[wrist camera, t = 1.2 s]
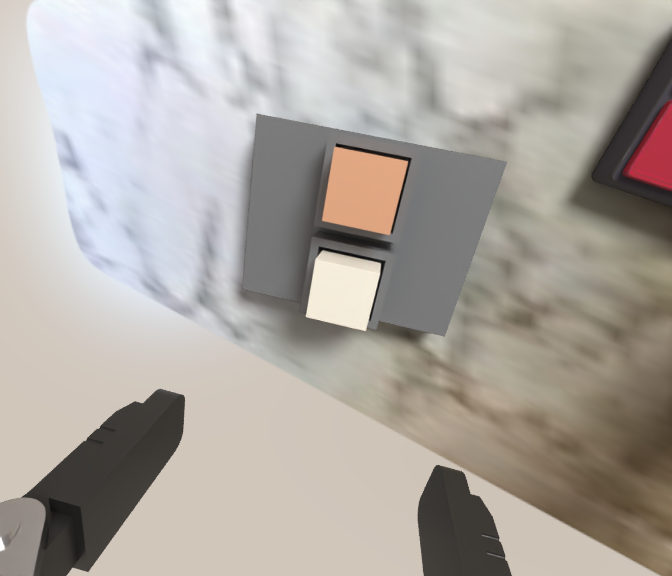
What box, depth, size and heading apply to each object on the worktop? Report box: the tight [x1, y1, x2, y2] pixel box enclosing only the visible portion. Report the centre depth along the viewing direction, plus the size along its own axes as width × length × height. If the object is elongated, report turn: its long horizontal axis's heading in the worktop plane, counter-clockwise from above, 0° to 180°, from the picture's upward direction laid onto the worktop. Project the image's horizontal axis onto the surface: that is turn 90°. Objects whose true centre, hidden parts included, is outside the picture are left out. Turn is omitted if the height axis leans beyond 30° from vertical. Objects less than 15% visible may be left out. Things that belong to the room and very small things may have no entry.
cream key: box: [306, 250, 381, 331], centre depth 23 cm, size 4×4×2 cm
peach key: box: [322, 147, 408, 235], centre depth 21 cm, size 4×4×2 cm
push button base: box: [242, 114, 507, 336], centre depth 26 cm, size 18×14×6 cm
